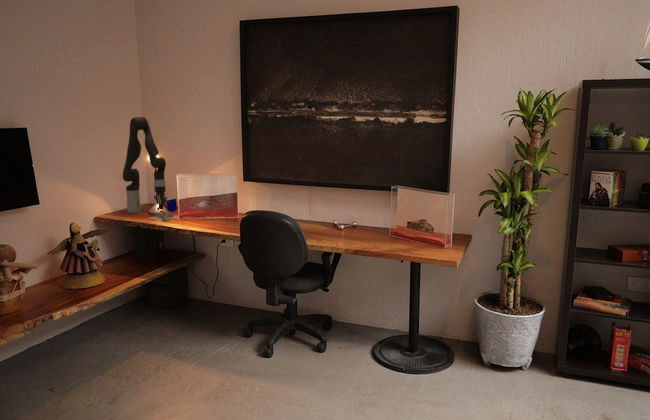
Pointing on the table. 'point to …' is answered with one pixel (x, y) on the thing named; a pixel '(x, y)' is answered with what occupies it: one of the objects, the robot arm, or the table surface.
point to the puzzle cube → (170, 204)
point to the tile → (161, 215)
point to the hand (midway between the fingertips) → (161, 208)
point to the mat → (160, 218)
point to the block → (165, 215)
